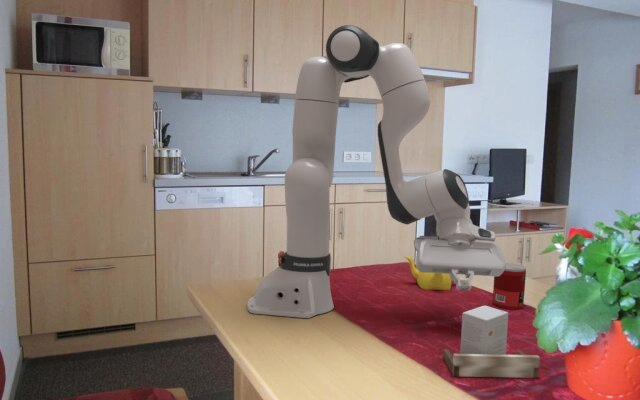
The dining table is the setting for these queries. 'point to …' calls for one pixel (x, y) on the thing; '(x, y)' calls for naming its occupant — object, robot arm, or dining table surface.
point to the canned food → (510, 287)
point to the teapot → (430, 278)
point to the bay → (492, 365)
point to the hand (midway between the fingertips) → (464, 289)
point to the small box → (484, 331)
